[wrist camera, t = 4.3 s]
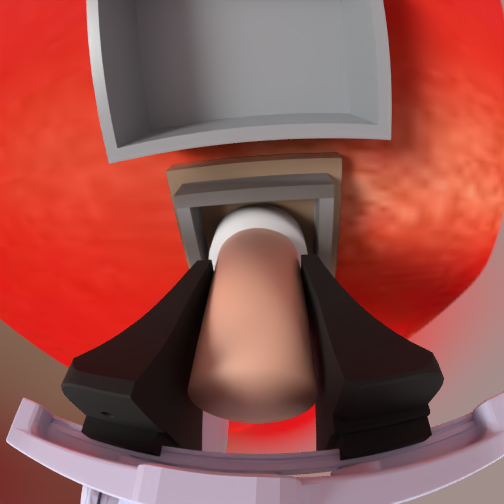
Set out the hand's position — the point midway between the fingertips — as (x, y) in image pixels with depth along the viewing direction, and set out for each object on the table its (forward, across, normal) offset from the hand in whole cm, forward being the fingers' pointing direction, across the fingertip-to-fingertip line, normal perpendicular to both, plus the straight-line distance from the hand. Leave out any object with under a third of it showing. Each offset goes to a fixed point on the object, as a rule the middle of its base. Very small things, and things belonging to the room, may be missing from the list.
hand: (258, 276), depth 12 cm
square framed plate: (+4, 0, 0) cm, 4 cm away
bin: (+4, 0, -10) cm, 11 cm away
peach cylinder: (+2, 0, 0) cm, 2 cm away
